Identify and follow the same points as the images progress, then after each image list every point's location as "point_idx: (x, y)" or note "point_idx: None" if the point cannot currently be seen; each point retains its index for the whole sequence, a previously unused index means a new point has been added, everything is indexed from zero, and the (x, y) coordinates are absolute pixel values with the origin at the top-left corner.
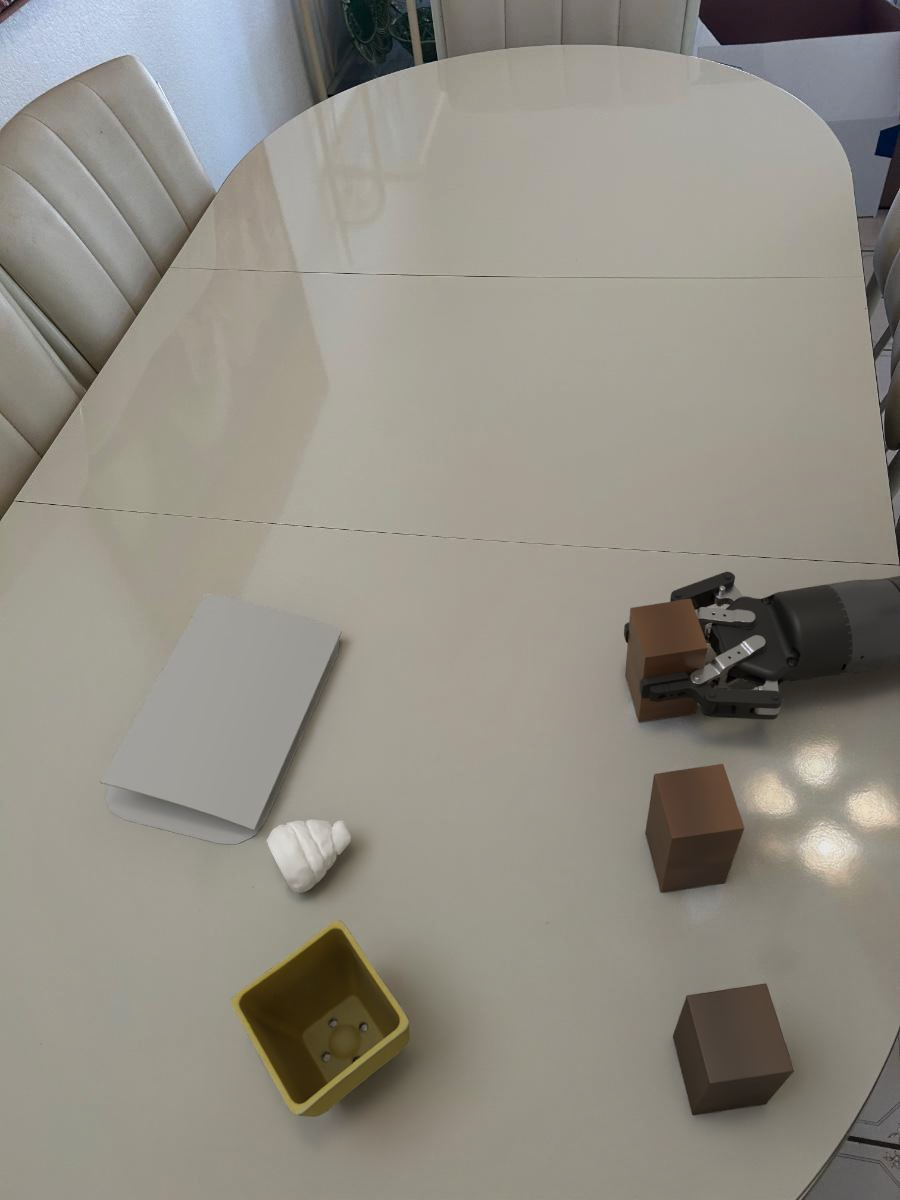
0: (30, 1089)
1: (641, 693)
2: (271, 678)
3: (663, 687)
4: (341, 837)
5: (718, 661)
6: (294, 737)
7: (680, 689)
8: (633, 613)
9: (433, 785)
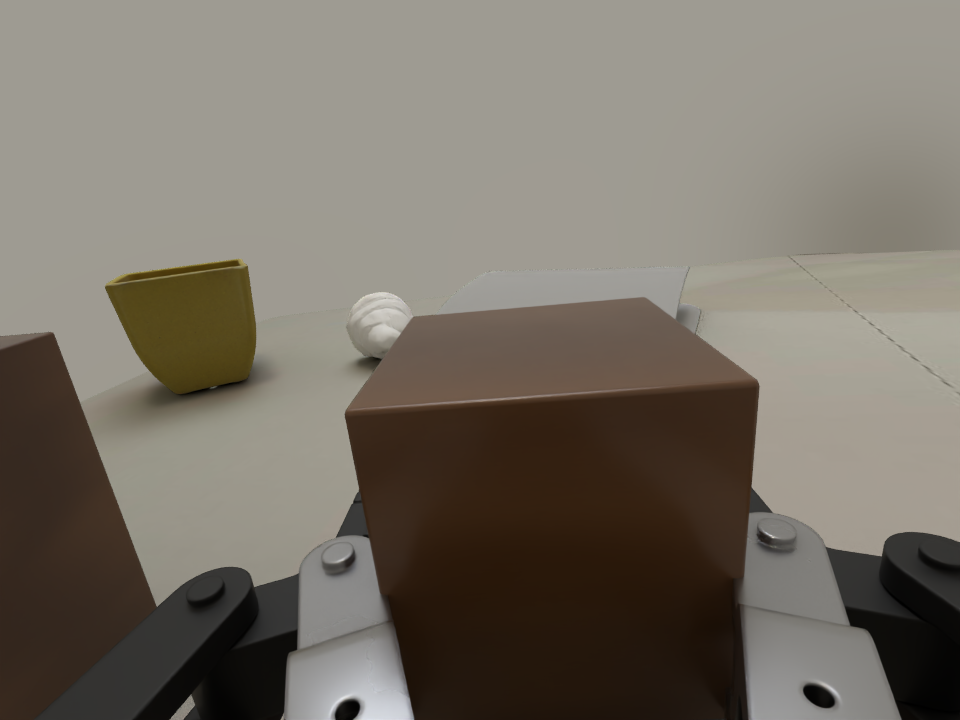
0: (315, 314)
1: None
2: (586, 299)
3: None
4: (378, 331)
5: (354, 631)
6: None
7: (341, 530)
8: (616, 299)
9: None
